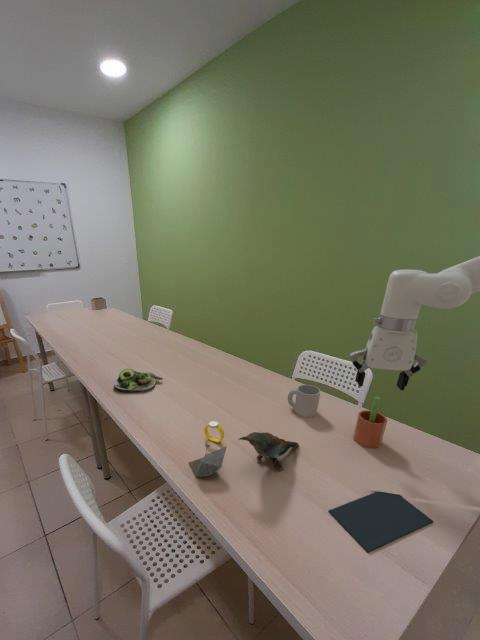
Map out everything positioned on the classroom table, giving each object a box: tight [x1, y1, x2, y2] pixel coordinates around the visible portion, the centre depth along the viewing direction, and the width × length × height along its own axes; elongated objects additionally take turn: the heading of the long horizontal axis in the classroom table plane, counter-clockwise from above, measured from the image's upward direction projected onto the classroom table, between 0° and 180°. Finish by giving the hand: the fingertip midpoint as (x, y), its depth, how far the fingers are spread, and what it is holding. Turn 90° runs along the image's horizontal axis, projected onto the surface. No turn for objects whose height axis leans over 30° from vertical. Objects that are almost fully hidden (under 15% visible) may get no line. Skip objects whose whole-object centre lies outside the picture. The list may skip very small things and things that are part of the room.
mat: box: [328, 490, 434, 554], centre depth 63 cm, size 18×10×1 cm, turn 110°
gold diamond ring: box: [203, 420, 225, 444], centre depth 88 cm, size 6×3×6 cm, turn 57°
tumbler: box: [352, 409, 388, 449], centre depth 85 cm, size 7×7×8 cm
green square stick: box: [369, 396, 382, 423], centre depth 84 cm, size 1×1×14 cm
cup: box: [287, 384, 321, 418], centre depth 100 cm, size 7×10×9 cm
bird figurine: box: [237, 431, 300, 472], centre depth 78 cm, size 13×10×20 cm
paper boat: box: [188, 444, 228, 478], centre depth 77 cm, size 12×6×9 cm
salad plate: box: [113, 368, 164, 393], centre depth 125 cm, size 19×18×5 cm
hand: (379, 386), depth 79 cm, fingers open, 9 cm apart
